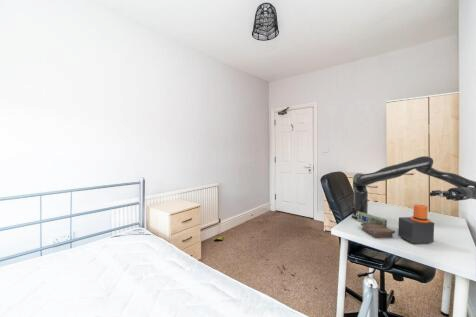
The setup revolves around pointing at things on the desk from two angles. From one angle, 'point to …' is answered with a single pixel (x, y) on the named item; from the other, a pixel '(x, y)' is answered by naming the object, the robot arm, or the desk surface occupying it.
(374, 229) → the stand
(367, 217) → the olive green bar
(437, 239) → the desk surface
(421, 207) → the hat
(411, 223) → the dark grey cube pedestal
